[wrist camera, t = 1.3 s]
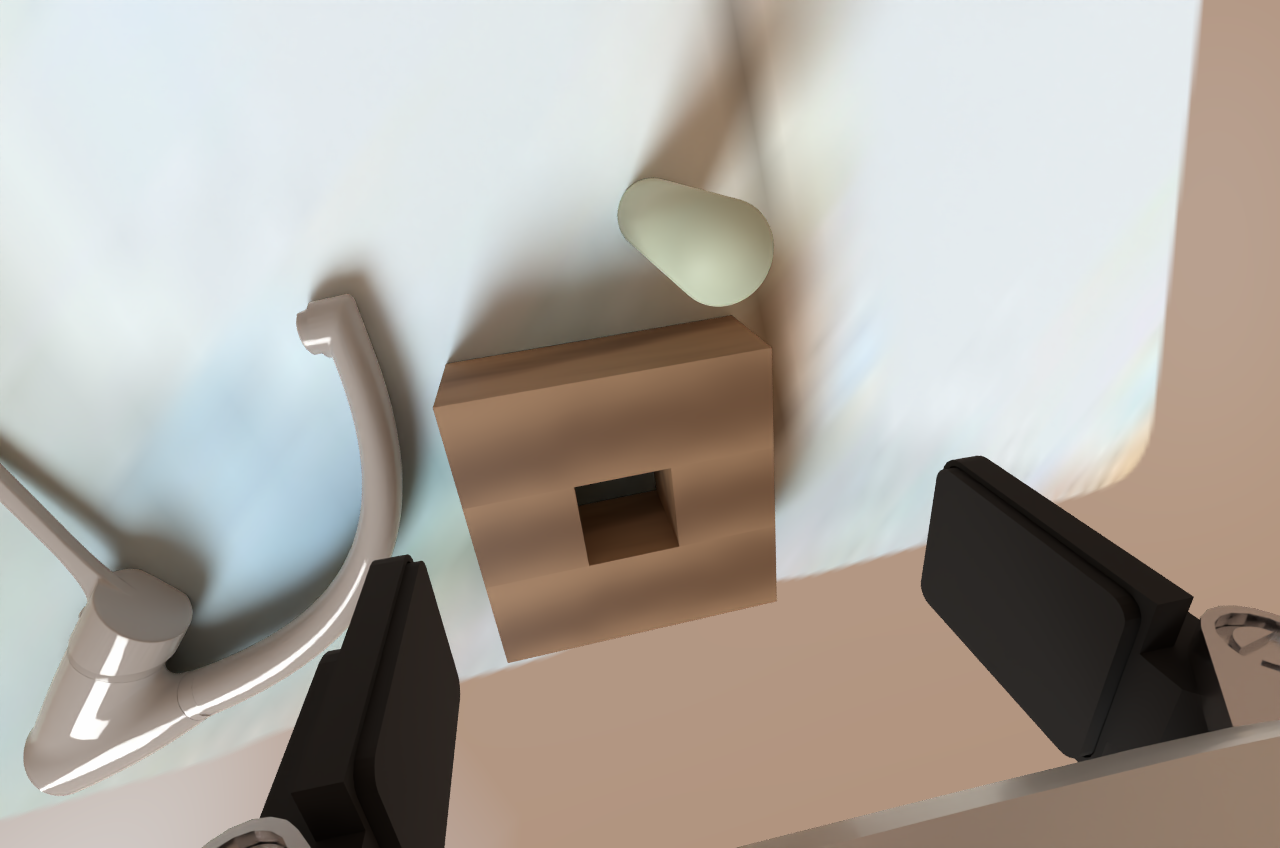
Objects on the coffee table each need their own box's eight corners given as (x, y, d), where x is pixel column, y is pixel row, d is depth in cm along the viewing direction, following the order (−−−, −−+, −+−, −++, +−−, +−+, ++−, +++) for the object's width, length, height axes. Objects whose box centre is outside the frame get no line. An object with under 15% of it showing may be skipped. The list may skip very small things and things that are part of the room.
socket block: (446, 363, 33) (432, 407, 27) (731, 315, 34) (771, 347, 29) (508, 592, 40) (507, 662, 34) (742, 541, 41) (776, 601, 36)
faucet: (-276, 344, 29) (265, 113, 29) (123, 743, 38) (524, 572, 38) (-431, 368, 24) (212, 95, 24) (66, 814, 34) (520, 620, 34)
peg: (612, 182, 30) (666, 206, 20) (682, 173, 31) (773, 190, 20) (622, 255, 32) (676, 314, 21) (688, 245, 32) (774, 297, 22)
